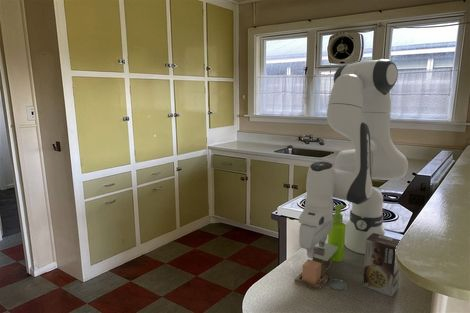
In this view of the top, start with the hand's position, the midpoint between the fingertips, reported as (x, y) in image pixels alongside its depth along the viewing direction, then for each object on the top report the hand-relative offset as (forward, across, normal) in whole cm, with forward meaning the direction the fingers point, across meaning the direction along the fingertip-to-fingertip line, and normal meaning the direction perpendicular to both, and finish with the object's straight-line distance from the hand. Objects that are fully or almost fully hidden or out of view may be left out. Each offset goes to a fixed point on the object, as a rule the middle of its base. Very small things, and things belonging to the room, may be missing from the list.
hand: (316, 251), depth 111 cm
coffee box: (+8, -5, +20) cm, 22 cm away
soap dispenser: (+8, -16, +2) cm, 18 cm away
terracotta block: (+8, +5, 0) cm, 10 cm away
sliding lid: (+2, -4, +1) cm, 5 cm away
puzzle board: (+8, 0, 0) cm, 8 cm away
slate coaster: (+8, +2, +8) cm, 12 cm away
